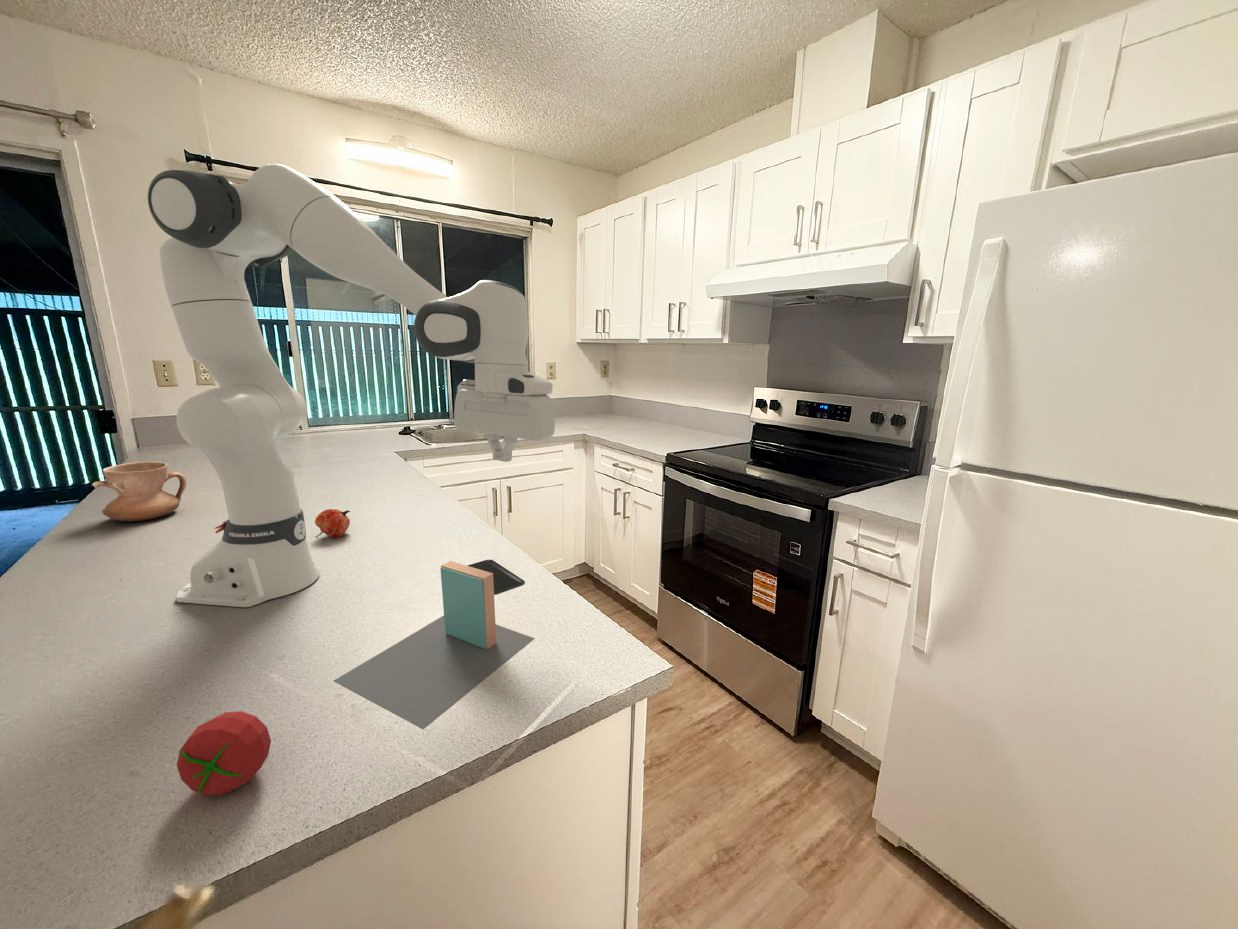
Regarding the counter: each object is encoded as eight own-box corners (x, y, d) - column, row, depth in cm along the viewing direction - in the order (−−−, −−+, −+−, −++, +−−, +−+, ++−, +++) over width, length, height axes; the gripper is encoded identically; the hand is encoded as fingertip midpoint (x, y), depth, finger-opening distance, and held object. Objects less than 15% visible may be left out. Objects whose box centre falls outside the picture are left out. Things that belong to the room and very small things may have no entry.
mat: (454, 612, 87) (454, 609, 87) (534, 641, 78) (534, 638, 78) (334, 684, 68) (333, 680, 68) (423, 732, 60) (423, 728, 59)
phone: (490, 558, 107) (526, 582, 97) (490, 563, 108) (527, 587, 97) (456, 568, 102) (490, 595, 91) (456, 573, 102) (491, 600, 92)
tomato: (239, 685, 55) (187, 724, 47) (298, 723, 56) (256, 767, 48) (193, 742, 54) (134, 791, 47) (254, 779, 55) (205, 833, 48)
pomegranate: (318, 552, 116) (351, 526, 116) (296, 529, 115) (330, 503, 115) (332, 543, 124) (364, 519, 124) (312, 521, 122) (344, 497, 122)
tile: (455, 627, 81) (450, 560, 78) (496, 642, 77) (493, 573, 74) (444, 634, 79) (439, 566, 76) (486, 650, 75) (482, 579, 72)
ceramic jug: (105, 531, 120) (93, 476, 117) (96, 518, 129) (85, 466, 126) (198, 514, 134) (189, 465, 131) (184, 503, 143) (176, 456, 140)
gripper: (444, 378, 85) (446, 455, 88) (537, 384, 76) (536, 471, 78) (470, 378, 91) (472, 451, 93) (560, 384, 81) (559, 465, 84)
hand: (502, 460), depth 86 cm, fingers closed
